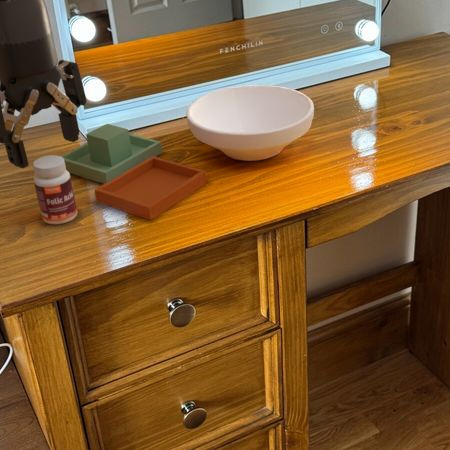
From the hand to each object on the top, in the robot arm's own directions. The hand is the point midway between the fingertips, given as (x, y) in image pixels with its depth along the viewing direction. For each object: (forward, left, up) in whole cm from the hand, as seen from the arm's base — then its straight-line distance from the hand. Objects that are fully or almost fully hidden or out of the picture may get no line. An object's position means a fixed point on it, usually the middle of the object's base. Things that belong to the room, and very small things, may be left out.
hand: (47, 152), depth 100 cm
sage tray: (+16, +6, -10) cm, 19 cm away
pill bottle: (0, 0, -10) cm, 10 cm away
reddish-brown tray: (+11, -7, -10) cm, 16 cm away
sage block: (+16, +6, -9) cm, 19 cm away
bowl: (+30, -11, -10) cm, 33 cm away
